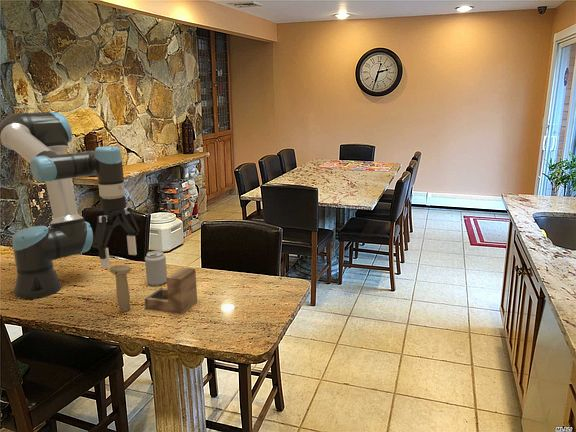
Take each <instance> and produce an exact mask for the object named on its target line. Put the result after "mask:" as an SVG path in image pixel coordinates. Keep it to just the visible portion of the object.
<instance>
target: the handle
mask: <svg viewBox="0 0 576 432" xmlns="http://www.w3.org/2000/svg"><path fill="white" fill-rule="evenodd" d="M131 271H132V270H131V266H130V265H127V264H126V265H125V264H118V265H113V266H110V268H109V272H110V273H111V274H112V275H115V281H116V282H115V284H116V285H115V287H116V289H115V291H116V301H117V305H118V310H119V311H120V312H121V313H123V312H128V311H130V310H131V309H130V308H131V306H130V303H131V297H130V290H129V284H128V283H129V282H128V277H127V274H129V273H130V272H131Z"/></svg>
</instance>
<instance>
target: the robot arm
mask: <svg viewBox="0 0 576 432" xmlns="http://www.w3.org/2000/svg"><path fill="white" fill-rule="evenodd" d="M68 120H69V119H67V118H66V116H65V115H64V114H62V113H60V112H56V111H55V112H52V111H51V112H50V111H44V112H43V111H42V112H25V113H24V112H18V113H17V112H16V113H12V114H10V115H8V116H5V117H4V118H3V119H2V120H1V121H0V143H1V145H3V146H4V147H5V148H7V149H8V150H11V151H15V152H16V153H17V154H18V155H19V156H20V157H21V158H23V159H24V160H25V161H26V162H28V163H29V164H30V165H29V166H30V167H29V169H30V173H31V175H32V176H33V177H32V178H33V179H34V180H35V181H37V182H45V184H46V185H45V186H46V189H47V194H48V199H49V203H50V208H51V213H52V220H51V221H50V224H49V225H50V228H48V226H46V225H36V226H34V225H33V226H30V227H26V228H24V229H21V230H18V231H17V232H15V233H14V234H13V236H12V239H11V240H12V241H11V242H12V250H13V255H14V261H15V268H16V273H17V275H16V282H15V286H14V289H13V291H14V296H15V295H16V296H17V297H16V296H15V297H16V298H18V297H20V298H19V299H21V298H34V299H37V298H36V297H40V298H43V296H45V297H48V296H50V294H51V295H53V294H55V293H58V292H59V291H60V290H61V289H62V283H61V280H60V278H59V276H58V274H57V272H56V270H55V269H54V264H53V261H54V260H59V259H63V258H67V257H71V256H76V255H77V256H78V255H80V254H83V253H86V252H88V251H90V249H91V247H92V248H93V249H98V258H99V259H100V266H101V269H108V270H110V268H111V261H110V253H109V247H107V246H108V242H109V241H110V238H111V235H112V232H113V230H114V229H116V227H118V226H121V227H122V228H123V230H124V231H125V232H126V233H127V234H128V235H126V242H127V251H128V255H130V256H136V255H138V253H137V239H136V238H137V237H136V236H138V235H139V233H140V228H139V225H138V224H137V221H136V219H135V217H134V215H133V211H132V208H131V207H129V206H127V199H126V196H125V195H126V189H125V182H124V181H125V178H124V167H123V157H122V152H121V148H120V147H119V146H113V145H112V146H111V145H109V146H108V145H107V146H105V145H103V146H98V147H96V148H95V150H86V151H82V152H75V153H74V152H72V153H66V151H67V150H68V148H69V143H70V142H71V141H72V138H73V135H72V128H71V125H70V123H69V121H68ZM91 176H97V186H98V192H99V193H98V194H99V197H100V199H99V200H100V207H101V208H100V209H101V210H102V211H104V213H103V215H97V216H96V225H95V226H96V228H95V231H94V232H93V228H92V227H91V224H90V223H89V222H88V221H85V220H84V217H83V216H81V215H80V214H79V212H78V207H77V202H76V197H75V193H74V189H73V184H72V180H71V179H74V178H83V177H91ZM47 295H48V296H47Z"/></svg>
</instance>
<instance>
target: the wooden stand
mask: <svg viewBox="0 0 576 432" xmlns="http://www.w3.org/2000/svg"><path fill="white" fill-rule="evenodd" d="M166 279H167V281H166V287H160V288H159V289H157V290H155V291H154V292H153V293H151V294H150V295H148V296H147V297H145V298H144V305H145V310H151V311H159V312H167V313H174V314H181V315H183V314H185V312H187V311H188V310H189V309H191V308H192V307H193V306H194V305H196V303H198V292H197V291H198V289H197V274H196V268H189V267H183V266H182V267H181V268H179V269H178V270H176V271H175V272H173V273H171V274H170V275H167V278H166Z"/></svg>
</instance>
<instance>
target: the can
mask: <svg viewBox="0 0 576 432" xmlns="http://www.w3.org/2000/svg"><path fill="white" fill-rule="evenodd" d="M166 260H167V259H166V255H165V254H164V252H163V251H160V250H153V251H149V252H147V253H146V256H145V257H144V262H145V263H144V264H145V275H146V283H147V284H149V285H150V286H152V287H157V286H162V285H164V284H166V283H167V279H166V278H167V277H168V269H167V261H166Z"/></svg>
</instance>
